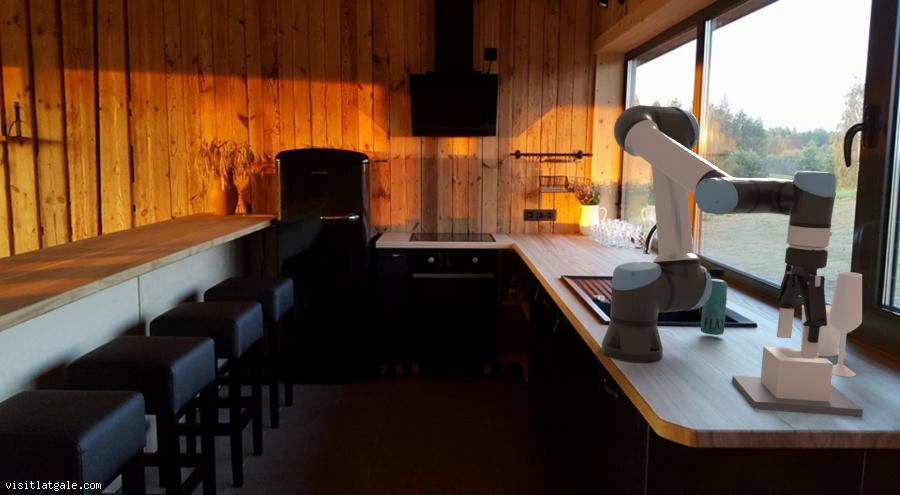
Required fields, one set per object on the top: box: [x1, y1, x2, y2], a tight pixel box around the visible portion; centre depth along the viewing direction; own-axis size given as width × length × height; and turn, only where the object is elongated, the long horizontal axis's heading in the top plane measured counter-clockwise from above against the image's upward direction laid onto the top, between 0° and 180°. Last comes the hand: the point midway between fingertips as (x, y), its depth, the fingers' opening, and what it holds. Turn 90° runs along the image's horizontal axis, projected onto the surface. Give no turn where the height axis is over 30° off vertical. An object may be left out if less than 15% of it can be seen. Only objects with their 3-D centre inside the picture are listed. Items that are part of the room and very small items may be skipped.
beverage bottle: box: [700, 267, 728, 336], centre depth 178 cm, size 6×7×20 cm
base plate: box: [731, 374, 864, 418], centre depth 132 cm, size 20×16×6 cm
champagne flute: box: [829, 271, 863, 378], centre depth 149 cm, size 7×7×24 cm
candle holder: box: [800, 304, 841, 358], centre depth 166 cm, size 10×10×12 cm
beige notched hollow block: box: [760, 345, 834, 402], centre depth 132 cm, size 10×10×8 cm
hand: (795, 346), depth 132 cm, fingers open, 13 cm apart
